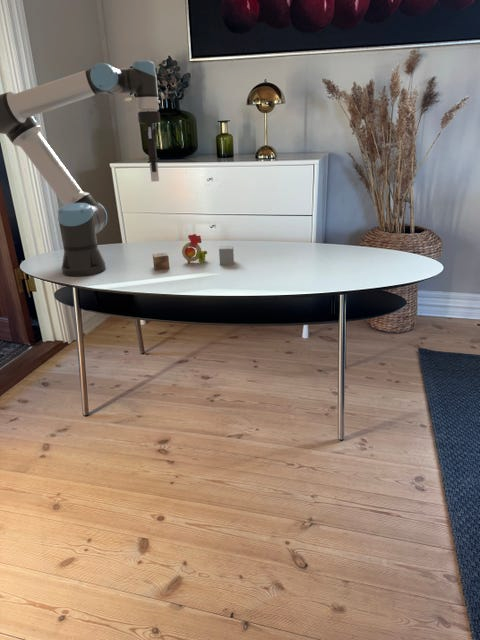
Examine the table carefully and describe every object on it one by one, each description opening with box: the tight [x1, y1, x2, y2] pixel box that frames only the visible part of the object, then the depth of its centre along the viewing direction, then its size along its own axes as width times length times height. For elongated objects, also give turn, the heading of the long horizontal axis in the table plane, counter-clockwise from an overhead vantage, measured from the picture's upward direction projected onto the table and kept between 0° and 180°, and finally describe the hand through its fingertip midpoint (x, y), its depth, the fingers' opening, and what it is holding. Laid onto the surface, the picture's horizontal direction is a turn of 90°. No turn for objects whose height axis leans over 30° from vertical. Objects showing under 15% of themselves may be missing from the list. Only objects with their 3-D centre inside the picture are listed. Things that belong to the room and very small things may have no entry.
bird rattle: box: [181, 233, 208, 264], centre depth 179 cm, size 6×11×9 cm
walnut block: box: [152, 252, 170, 271], centre depth 174 cm, size 5×5×5 cm
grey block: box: [218, 245, 235, 266], centre depth 177 cm, size 5×5×6 cm
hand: (155, 181), depth 176 cm, fingers closed
